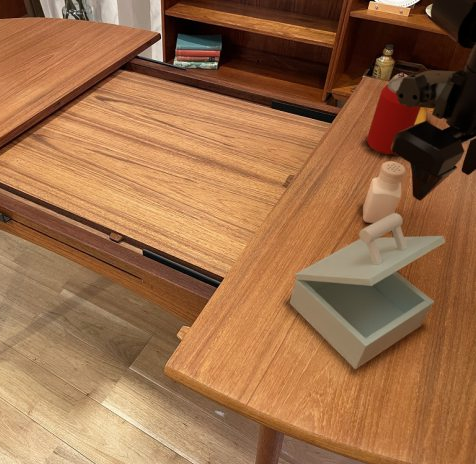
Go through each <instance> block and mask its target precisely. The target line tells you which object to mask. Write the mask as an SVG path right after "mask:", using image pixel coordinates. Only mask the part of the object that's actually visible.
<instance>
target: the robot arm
mask: <svg viewBox="0 0 476 464" xmlns="http://www.w3.org/2000/svg"><path fill="white" fill-rule="evenodd" d="M430 19H431V21H432V23H433V24H434V25H435V26H436V27H437V28H438V29H440V30H441V31H442V32H443V33H445V34H446V35H447V36H448V37H449V38H450V39H452V40H453V41H454V42H456V43H457V45H459V46H460V47H462V48H464V49H470V50H471V51H470V53H469V56H468V58H467V60H466V63H465V65H464V68H462V69H460V70H457V71H454V70H453V71H452V70H434V69H431V70H425V71H422V72H419V73H417V74H416V73H412V74H408V75H406V76H404V77H402V78H403V80H402V82H400V86H399V88H398V90H397V92H396V94H397V96H398V101H399V103H400V104H403V105H404V106H406V107H413V106H416V107H424V108H427V109H428V108H434V110H433V111H432V113H431V116H433V117H436V118H437V119H439V120H443V119H444V120H446V121H445V123H446V124H447V127H446V128H444V129H441V128H439V127H437V126H435V125H434V124H432V123H430V122H429V121H427V120H426V121H424V122H421V123H418V124H416V125H413V126H411V127H409V128H407V129H405V130H402V131H400V132H398V133H396V134H395V137H394V140H393V143H392V146H391V151H392V152H394V155H395V154H396V156H398V157H400V158H402V159H403V160H404V161H406V162H408V163H409V165H410V170H411V184H412V185H411V186H412V187H411V188H412V197H413V198H414V199H416V200H417V201H419V202H420V201H422V200H424V199H425V198H426V197H427V196H428V195H429V194H430V193H432V192H433V191H434V190H435V189H436V188H437V187H438V186H439V185H441V183H442V182H444V181H445V180H446V179H447V178H448V177H449V176H451V174H452V173H454V171H456V170H457V168H458V166H456V165H458V163H459V162H460V161H461V160H462V158H463V156H464V153H465V156H464V159H463V162H462V166H461V169H460V170H461V173H463V174H465V175H466V176H469V175H471V174H472V173H474V172H475V171H476V0H433V1H432V4H431V8H430ZM468 143H469V144H468ZM465 144H468V146H467V149H466V151H465V149H464V146H463V145H465Z"/></svg>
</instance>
